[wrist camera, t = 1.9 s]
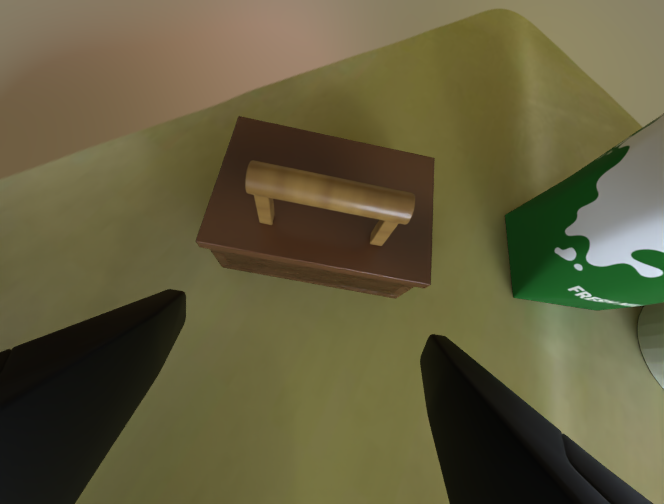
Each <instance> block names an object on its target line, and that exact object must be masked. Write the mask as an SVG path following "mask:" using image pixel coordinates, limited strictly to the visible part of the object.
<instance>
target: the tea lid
mask: <svg viewBox="0 0 664 504" xmlns="http://www.w3.org/2000/svg"><path fill="white" fill-rule="evenodd" d="M433 191H434V158H432V157H427V156H422V155H418V154H413V153H408V152H404V151H399V150H394V149H390V148H385V147H380V146H376V145H371V144H366V143H362V142H357V141H352V140H348V139H343V138H338V137H334V136H329V135H324V134H320V133H315V132H310V131H306V130H301V129H296V128H292V127H287V126H282V125H278V124H273V123H268V122H264V121H259V120H254V119H250V118H245V117H240V116H239V117H238V119H237V122H236V125H235V128H234V131H233V134H232V137H231V140H230V143H229V146H228V149H227V151H226V154H225V157H224V160H223V163H222V166H221V169H220V172H219V175H218V178H217V180H216V183H215V186H214V189H213V192H212V195H211V198H210V201H209V204H208V207H207V209H206V212H205V215H204V218H203V221H202V224H201V227H200V230H199V233H198V236H197V239H196V243H197V244H198V245H199V247H202V248H208V249H213V250H219V251H224V252H230V253H235V254H241V255H246V256H251V257H257V258H262V259H268V260H273V261H279V262H284V263H289V264H295V265H300V266H306V267H311V268H317V269H322V270H328V271H333V272H338V273H344V274H349V275H355V276H360V277H366V278H371V279H377V280H382V281H387V282H393V283H398V284H404V285H409V286H415V287H420V288H426V287H428V286H430V285H431V257H432V224H433Z"/></svg>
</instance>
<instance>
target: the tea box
mask: <svg viewBox="0 0 664 504" xmlns="http://www.w3.org/2000/svg"><path fill="white" fill-rule="evenodd" d="M210 250H211V252H212V253H213V255H214V256H215V257H216V259H217V260H218V262H219V263H220V265H221V266H222V267H224V268H230V269H235V270H241V271H246V272H252V273H257V274H263V275H268V276H274V277H279V278H285V279H291V280H296V281H302V282H307V283H313V284H318V285H324V286H329V287H335V288H340V289H346V290H352V291H357V292H363V293H368V294H374V295H379V296H385V297H390V298H397V297H399V296H401V295H402V294H404V293H405V292H407V291H408V290H410V289H411V288H413V287H415V286H409V285H404V284H398V283H393V282H387V281H382V280H377V279H371V278H366V277H360V276H355V275H349V274H344V273H338V272H333V271H328V270H322V269H317V268H311V267H306V266H300V265H295V264H289V263H284V262H279V261H273V260H268V259H262V258H257V257H251V256H246V255H241V254H235V253H230V252H224V251H219V250H213V249H210Z"/></svg>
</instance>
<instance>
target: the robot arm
mask: <svg viewBox="0 0 664 504" xmlns="http://www.w3.org/2000/svg"><path fill="white" fill-rule="evenodd" d="M185 318H186V295H185V293H184V292H183V291H178V290H172V289H168V290H165V291H162V292H160V293H157V294H154V295H152V296H149V297H146V298H144V299H141V300H138V301H136V302H133V303H130V304H128V305H125V306H122V307H120V308H117V309H114V310H112V311H109V312H106V313H104V314H101V315H98V316H96V317H93V318H90V319H88V320H85V321H82V322H80V323H77V324H74V325H72V326H69V327H66V328H64V329H61V330H58V331H56V332H53V333H50V334H48V335H45V336H42V337H40V338H37V339H34V340H32V341H29V342H26V343H24V344H21V345H18V346H16V347H14V348H13V349H12V350H10V349H8V350H5V351H2V352H0V504H75V502H76V501H77V499H78V498H79V496H80V495H81V493H82V492H83V490H84V488H85V487H86V485H87V484H88V482H89V481H90V479H91V478H92V476H93V475H94V473H95V472H96V470H97V469H98V467H99V465H100V464H101V462H102V461H103V459H104V458H105V456H106V455H107V453H108V452H109V450H110V449H111V447H112V445H113V444H114V442H115V441H116V439H117V438H118V436H119V435H120V433H121V432H122V430H123V429H124V427H125V425H126V424H127V422H128V421H129V419H130V418H131V416H132V415H133V413H134V412H135V410H136V409H137V407H138V405H139V404H140V402H141V401H142V399H143V398H144V396H145V395H146V393H147V392H148V390H149V389H150V387H151V386H152V384H153V382H154V381H155V379H156V378H157V376H158V374H159V372H160V371H161V369H162V367H163V365H164V363H165V361H166V359H167V357H168V355H169V353H170V351H171V349H172V347H173V345H174V343H175V341H176V339H177V337H178V335H179V333H180V331H181V329H182V327H183V325H184V322H185ZM420 365H421V372H422V380H423V387H424V394H425V401H426V408H427V413H428V418H429V423H430V427H431V431H432V435H433V439H434V443H435V447H436V451H437V455H438V459H439V462H440V466H441V470H442V474H443V478H444V482H445V486H446V490H447V494H448V498H449V502H450V504H653V503H652V502H650V501H649V500H648V499H646V498H645V497H644V496H642V495H641V494H640V493H638V492H637V491H636V490H634V489H633V488H632V487H631V486H629V485H628V484H627V483H625V482H624V481H623V480H621V479H620V478H619V477H617V476H616V475H615V474H614V473H612V472H611V471H610V470H608V469H607V468H606V467H605V466H603V465H602V464H601V463H600V462H598V461H597V460H596V459H595V458H593V457H592V456H591V455H590V454H588V453H587V452H586V451H585V450H583V449H582V448H581V447H580V446H578V445H577V444H576V443H575V442H574V441H572V440H571V439H570V438H569V437H568V436H566V435H565V434H562V433H561V431H560V430H559V429H558V428H556V427H555V426H554V425H553V424H552V423H550V422H549V421H548V420H547V419H545V418H544V417H543V416H542V415H541V414H539V413H538V412H537V411H536V410H535V409H533V408H532V407H531V406H530V405H528V404H527V403H526V402H525V401H524V400H522V399H521V398H520V397H519V396H517V395H516V394H515V393H514V392H513V391H511V390H510V389H509V388H508V387H506V386H505V385H504V384H503V383H502V382H500V381H499V380H498V379H497V378H496V377H494V376H493V375H492V374H491V373H489V372H488V371H487V370H486V369H485V368H483V367H482V366H481V365H480V364H478V363H477V362H476V361H475V360H474V359H472V358H471V357H470V356H469V355H468V354H466V353H465V352H464V351H463V350H461V349H460V348H459V347H458V346H457V345H455V344H454V343H453V342H452V341H450V340H449V339H448V338H447V337H445V336H441V335H435V334H432V335H430V336H429V338H428V340H427V342H426V345H425V347H424V350H423V352H422V355H421V359H420Z"/></svg>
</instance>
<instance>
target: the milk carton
mask: <svg viewBox="0 0 664 504" xmlns="http://www.w3.org/2000/svg"><path fill="white" fill-rule="evenodd" d="M505 220H506V230H507V240H508V250H509V260H510V270H511V280H512V290H513V297H514V298H519V299H526V300H532V301H539V302H545V303H552V304H558V305H565V306H571V307H578V308H584V309H591V310H606V309H616V308H626V307H635V306H644V305H650V304H657V303H663V302H664V114H662V115H661V116H659V117H658V118H656V119H655V120H653V121H652V122H650V123H649V124H647V125H646V126H645V127H643V128H641V129H640V130H638V131H637V132H636V133H634V134H633V135H631V136H630V137H628V138H627V139H625V140H624V141H622V142H621V143H619V144H618V145H616V146H615V147H613V148H612V149H610V150H609V151H607V152H606V153H604V154H603V155H601V156H600V157H599V158H597V159H596V160H594V161H593V162H591V163H590V164H588V165H587V166H585V167H584V168H582V169H581V170H579V171H578V172H576V173H575V174H573V175H572V176H570V177H569V178H567V179H565V180H564V181H562V182H560V183H559V184H557V185H555V186H554V187H552V188H550V189H548V190H547V191H545V192H543V193H542V194H540V195H538V196H537V197H535V198H533V199H531V200H530V201H528V202H526V203H525V204H523V205H521V206H520V207H518V208H516V209H515V210H513V211H511V212H509V213H508V214H506V215H505Z"/></svg>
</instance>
